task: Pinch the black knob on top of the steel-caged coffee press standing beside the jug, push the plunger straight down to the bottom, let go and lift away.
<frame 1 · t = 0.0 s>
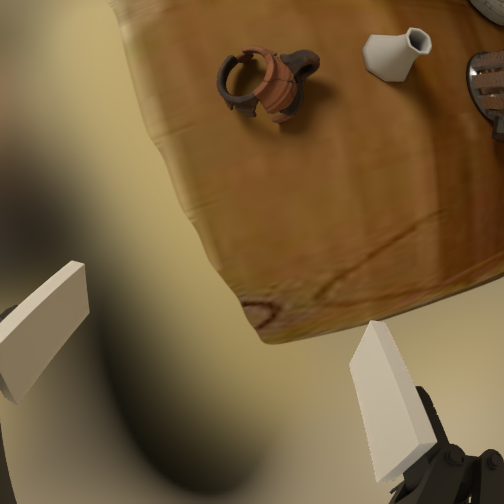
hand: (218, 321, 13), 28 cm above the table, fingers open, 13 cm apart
press carafe: (492, 87, 29), on the table
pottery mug: (272, 84, 33), on the table
flask: (386, 58, 30), on the table
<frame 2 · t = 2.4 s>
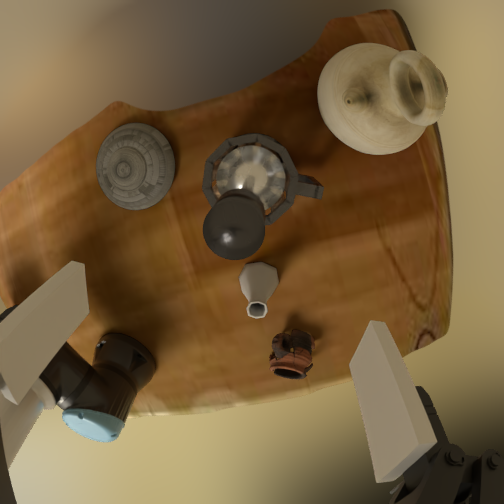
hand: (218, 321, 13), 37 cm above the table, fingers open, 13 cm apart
jug: (354, 104, 42), on the table
press carafe: (254, 169, 46), on the table
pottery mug: (289, 343, 59), on the table
plunger: (245, 195, 27), point 21 cm above the table, slide at 0.0 cm
flask: (258, 278, 54), on the table
flying saucer: (136, 165, 47), on the table
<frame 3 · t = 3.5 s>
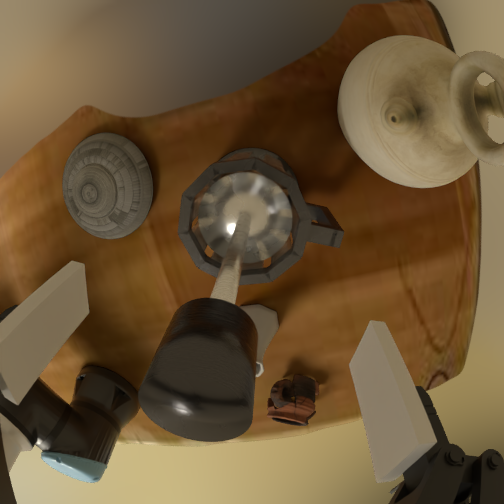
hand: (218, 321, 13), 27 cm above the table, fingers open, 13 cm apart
jug: (381, 113, 32), on the table
press carafe: (252, 193, 37), on the table
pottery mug: (290, 387, 50), on the table
plunger: (231, 267, 18), point 21 cm above the table, slide at 0.0 cm
flask: (255, 322, 45), on the table
flying saucer: (109, 184, 38), on the table
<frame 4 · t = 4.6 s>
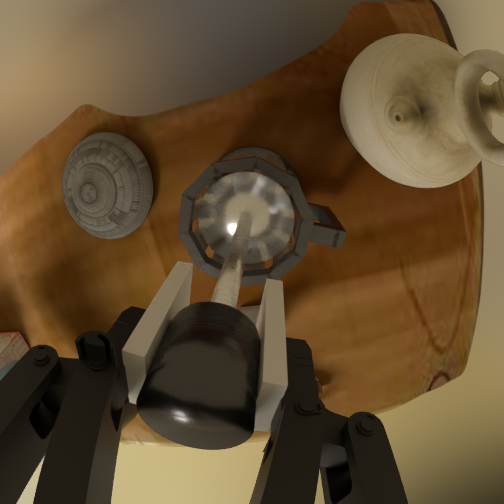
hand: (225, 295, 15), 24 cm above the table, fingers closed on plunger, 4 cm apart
cracker box: (12, 340, 53), on the table
jug: (384, 112, 32), on the table
press carafe: (253, 193, 37), on the table
plunger: (232, 268, 17), point 21 cm above the table, slide at 0.0 cm, touching gripper
flask: (256, 322, 44), on the table
flying saucer: (109, 184, 38), on the table
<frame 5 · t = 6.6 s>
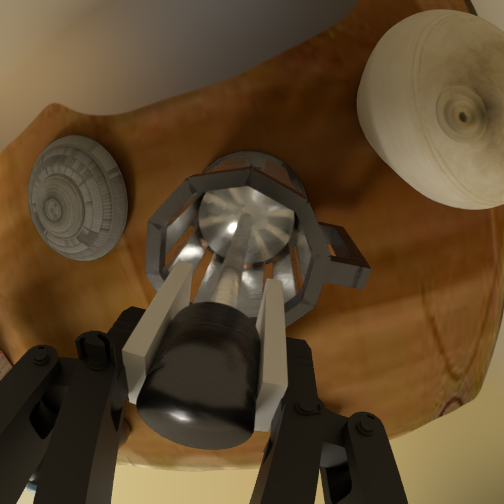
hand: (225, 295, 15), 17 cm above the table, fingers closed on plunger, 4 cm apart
jug: (409, 110, 25), on the table
press carafe: (248, 208, 30), on the table
plunger: (232, 268, 17), point 14 cm above the table, slide at 7.5 cm, touching gripper
flying saucer: (80, 197, 31), on the table
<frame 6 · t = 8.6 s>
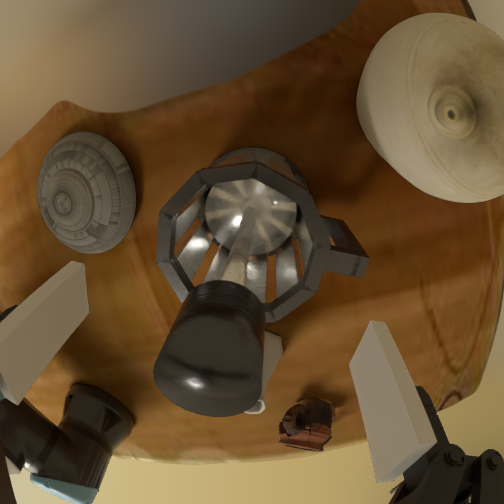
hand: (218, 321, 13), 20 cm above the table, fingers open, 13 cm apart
jug: (407, 108, 26), on the table
press carafe: (253, 202, 31), on the table
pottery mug: (303, 410, 44), on the table
plunger: (239, 255, 19), point 14 cm above the table, slide at 7.5 cm
flask: (256, 347, 39), on the table
flying saucer: (88, 191, 32), on the table
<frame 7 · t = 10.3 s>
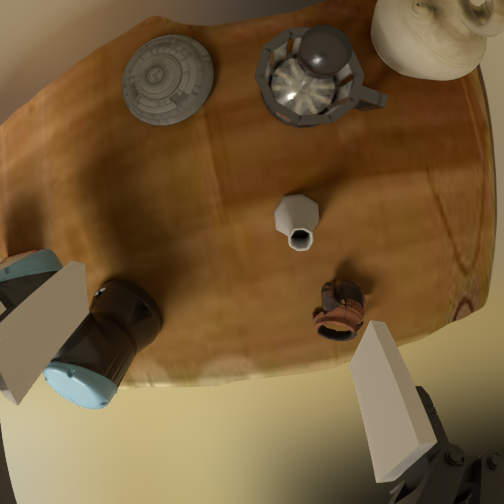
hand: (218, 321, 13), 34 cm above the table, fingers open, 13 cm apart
cracker box: (26, 263, 55), on the table
jug: (405, 41, 33), on the table
press carafe: (301, 89, 38), on the table
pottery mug: (335, 298, 51), on the table
plunger: (311, 72, 26), point 14 cm above the table, slide at 7.5 cm
flask: (296, 215, 46), on the table
flying saucer: (168, 79, 39), on the table
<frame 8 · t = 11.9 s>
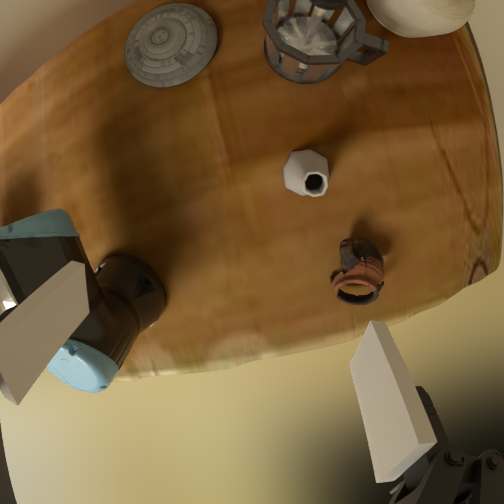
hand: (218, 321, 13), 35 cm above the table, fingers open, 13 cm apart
jug: (398, 6, 31), on the table
press carafe: (303, 48, 36), on the table
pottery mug: (352, 260, 49), on the table
plunger: (316, 17, 24), point 14 cm above the table, slide at 7.5 cm
flask: (305, 172, 44), on the table
flying saucer: (171, 45, 37), on the table
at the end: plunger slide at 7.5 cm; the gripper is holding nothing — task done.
